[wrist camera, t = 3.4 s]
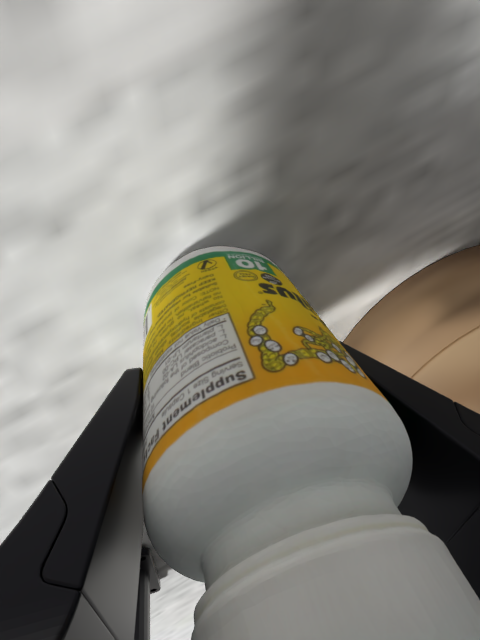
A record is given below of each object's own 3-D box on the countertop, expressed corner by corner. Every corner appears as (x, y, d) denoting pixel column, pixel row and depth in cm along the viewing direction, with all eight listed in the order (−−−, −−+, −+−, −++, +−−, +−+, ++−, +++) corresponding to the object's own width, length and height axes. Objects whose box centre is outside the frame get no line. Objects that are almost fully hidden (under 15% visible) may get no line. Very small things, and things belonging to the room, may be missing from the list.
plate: (487, 427, 22) (523, 461, 20) (302, 468, 19) (321, 513, 17) (628, 231, 15) (710, 253, 12) (354, 250, 12) (399, 283, 10)
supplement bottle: (110, 309, 11) (8, 848, 3) (234, 205, 10) (566, 595, 2) (210, 385, 14) (290, 747, 6) (312, 311, 13) (563, 627, 5)
